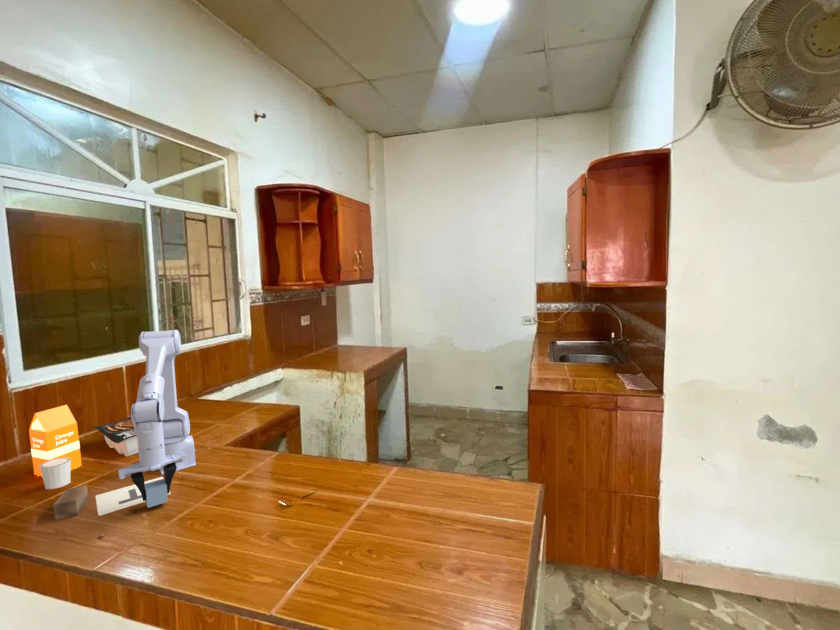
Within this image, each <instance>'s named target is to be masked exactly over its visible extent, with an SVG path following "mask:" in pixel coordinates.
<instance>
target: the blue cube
mask: <svg viewBox="0 0 840 630" xmlns="http://www.w3.org/2000/svg"><path fill="white" fill-rule="evenodd" d="M164 480H165V478H164V479H160V480H157V481H153V482H150V483H146V484H144V485H145V493H146V501H145V502H144V503H145V504H146V507H147V508H148V509H150V508H152V507H155V506H158V505H162V504H164V503H167V502H169V498H168V495H169V494H168V495H167V485H166V483H165V481H164Z"/></svg>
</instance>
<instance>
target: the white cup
mask: <svg viewBox="0 0 840 630" xmlns="http://www.w3.org/2000/svg"><path fill="white" fill-rule="evenodd" d="M40 469H41V473H42V477H41V478H42V481H43V484H44V485H43V486H44V489H45V490H46V491H47V490H54V489H58V488H62V487H65V486H67V485H70V484H71V472H72V470H71V459H70V458H68V457H65V458H57V459H53V460H50V461H47V462H44V463H43V464H41V465H40ZM69 483H70V484H69Z"/></svg>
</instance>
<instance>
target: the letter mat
mask: <svg viewBox="0 0 840 630" xmlns="http://www.w3.org/2000/svg"><path fill="white" fill-rule="evenodd" d="M160 479H164V481H165V478H164V476H160V477H156V478H153V479H149V480H144V484H146V483H150V482H153V481H157V480H160ZM167 495H172V493H171V492H170V493H168V494H167ZM95 502H96V503H95V504H96V510H97V516H98V517H99V516H104V515H106V514H110V513H113V512H116V511H119V510H123V509H125V508H129V507H132V506H136V505H138V504H142V503H146V502H145V501H143V499H142V495H141V492H140V491H139V489H138V487H137V486H136V485H135V483H134V484H132V485H129V486H124V487H120V488H118V489H117V488H116V489H114V490H111V491H107V492H103V493H99V494H96V495H95Z"/></svg>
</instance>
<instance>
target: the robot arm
mask: <svg viewBox="0 0 840 630" xmlns="http://www.w3.org/2000/svg"><path fill="white" fill-rule="evenodd" d="M181 341H182V340H181V333H180V331H179V330H178V329H173V330H172V329H171V330H155V331H153V330H152V331H141V333H140V334H139V335H138V345H139V351H141V353H142V355H143V356H145V375H143V376H142V377H141V378H140V380H139V385H138V390H137V395H136V396H137V397H136V401H135V403H132V405H131V408H130V417H131V418H132V422H133V425H134V430H135V431H136V432H137V442H138V452H139V453H138V460H139V461H138V462H136V463H134V464H131V465H129V466H125V467H123V468H119V469H118V470H117V471H118V478H119V480H123V479H125V478H126V477H130V479H131V480H132V483H134V484H135V485H136V486H137V487H138V489H139V491H140V492H141V495H142V499H143V501H146V493H145V485H144V482H145V477H144V473H146V472H149V471H151V472H153V471H157V470H159V472H160V475H163V478H164V480H165V483H166V485H167V494H168V493H171V485H172V480H173V478H174V476H175V474H176V472H178V471H180V470H183V469H187V468H190V467H195V466H196V465H197V463H196V451H195V442H194V438H193V435H190V433H191V424H190V423H191V421H190V419H189V412H188V411H187V410H185V409H182V408H180V407H179V406H178V399H177V397H178V396H177V385H176V371H175V369H176V367H175V359H176V357H177V356H179V355H181V353H182V342H181ZM168 495H169V494H168Z"/></svg>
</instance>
